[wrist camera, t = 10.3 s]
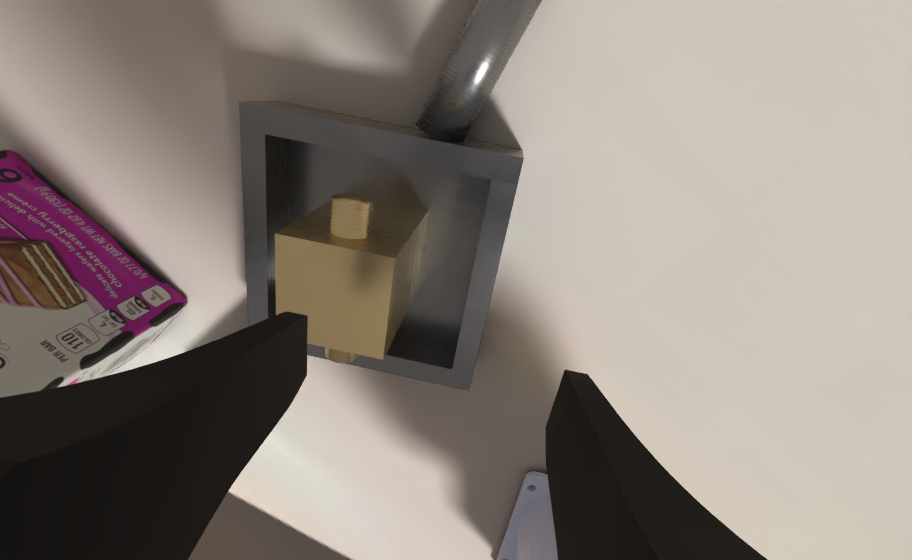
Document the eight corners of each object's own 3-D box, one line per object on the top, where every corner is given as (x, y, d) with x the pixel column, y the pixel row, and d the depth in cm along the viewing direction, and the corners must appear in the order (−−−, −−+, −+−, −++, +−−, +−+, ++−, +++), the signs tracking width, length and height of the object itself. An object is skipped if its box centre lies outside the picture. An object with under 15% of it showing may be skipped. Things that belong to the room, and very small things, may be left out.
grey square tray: (473, 360, 23) (468, 390, 20) (275, 317, 23) (249, 341, 21) (522, 149, 18) (523, 158, 16) (273, 100, 18) (239, 102, 16)
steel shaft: (462, 146, 18) (456, 152, 16) (421, 121, 18) (411, 124, 16) (558, -28, 15) (564, -44, 14) (512, -60, 15) (511, -80, 13)
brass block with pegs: (414, 310, 21) (380, 386, 16) (337, 294, 21) (276, 363, 16) (432, 184, 18) (398, 222, 13) (343, 166, 19) (273, 197, 13)
